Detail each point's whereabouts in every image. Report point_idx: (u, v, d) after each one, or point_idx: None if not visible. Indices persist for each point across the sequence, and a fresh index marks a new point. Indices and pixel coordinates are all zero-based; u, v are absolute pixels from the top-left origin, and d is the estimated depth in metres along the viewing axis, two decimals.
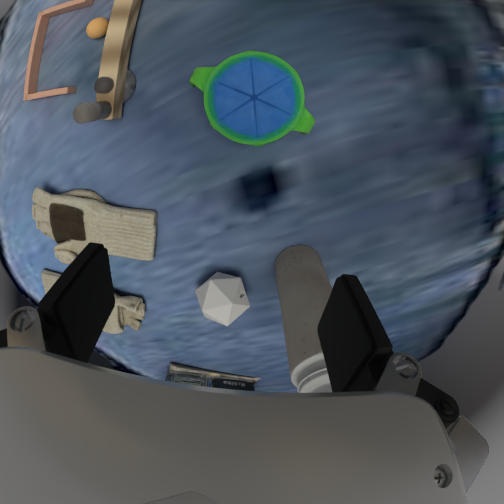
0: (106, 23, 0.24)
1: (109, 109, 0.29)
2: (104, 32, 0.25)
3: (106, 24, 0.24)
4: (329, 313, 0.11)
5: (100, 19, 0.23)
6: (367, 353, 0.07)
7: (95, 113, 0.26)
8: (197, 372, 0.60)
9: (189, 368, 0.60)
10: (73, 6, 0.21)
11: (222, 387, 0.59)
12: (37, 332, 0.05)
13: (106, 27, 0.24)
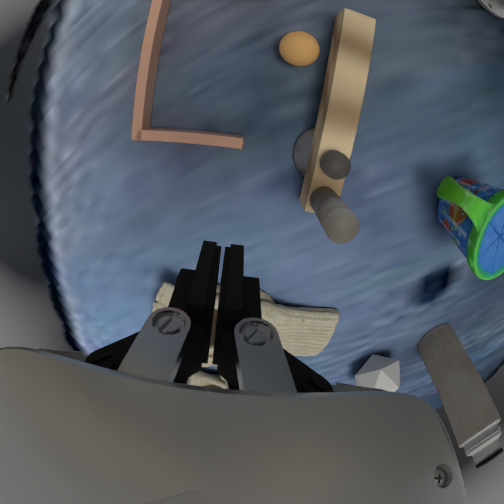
0: (319, 48, 0.19)
1: None
2: (312, 62, 0.20)
3: (319, 50, 0.19)
4: None
5: (313, 38, 0.18)
6: (218, 314, 0.08)
7: None
8: None
9: None
10: None
11: None
12: (176, 344, 0.06)
13: None
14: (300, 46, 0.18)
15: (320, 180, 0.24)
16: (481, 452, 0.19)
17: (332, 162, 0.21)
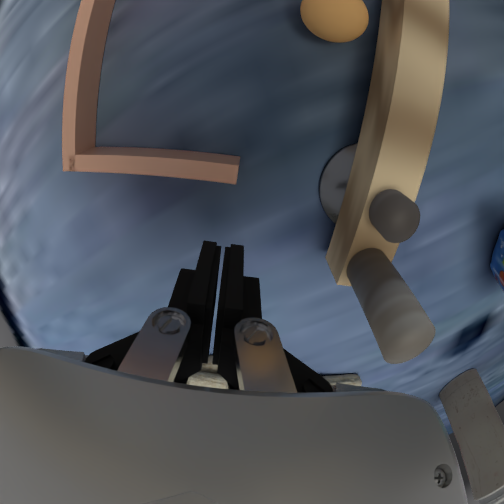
0: (367, 16, 0.09)
1: None
2: (357, 37, 0.10)
3: (368, 18, 0.09)
4: None
5: None
6: (218, 314, 0.08)
7: None
8: None
9: None
10: None
11: None
12: (176, 344, 0.06)
13: (366, 27, 0.10)
14: (341, 6, 0.08)
15: (366, 239, 0.14)
16: None
17: (394, 215, 0.12)
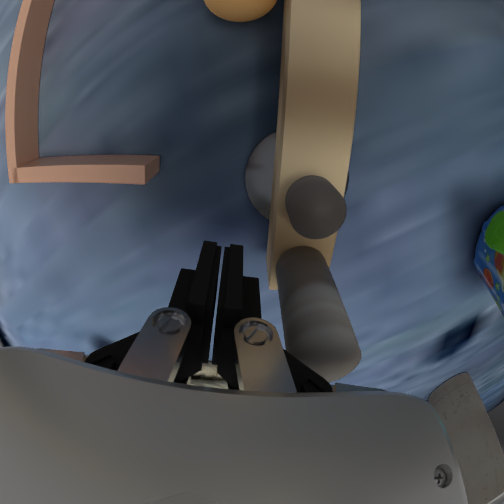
0: None
1: None
2: (267, 11, 0.09)
3: None
4: None
5: None
6: (218, 314, 0.08)
7: None
8: None
9: None
10: None
11: None
12: (176, 344, 0.06)
13: None
14: None
15: (290, 236, 0.13)
16: None
17: (306, 207, 0.11)
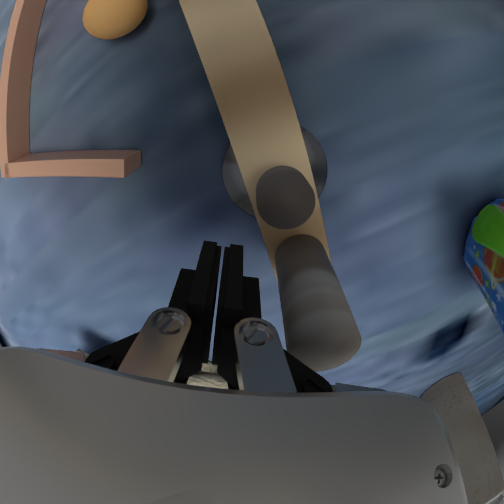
0: None
1: None
2: (93, 35, 0.09)
3: None
4: None
5: None
6: (218, 314, 0.08)
7: None
8: None
9: None
10: None
11: None
12: (176, 344, 0.06)
13: None
14: None
15: (277, 231, 0.13)
16: None
17: (272, 201, 0.11)
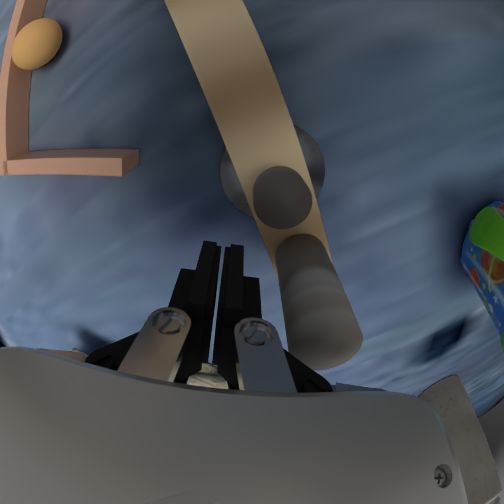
0: (52, 31, 0.08)
1: None
2: (49, 53, 0.09)
3: (51, 33, 0.08)
4: None
5: (37, 23, 0.07)
6: (218, 314, 0.08)
7: None
8: None
9: None
10: None
11: None
12: (176, 344, 0.06)
13: (52, 41, 0.09)
14: (16, 46, 0.07)
15: (276, 231, 0.13)
16: None
17: (269, 201, 0.11)
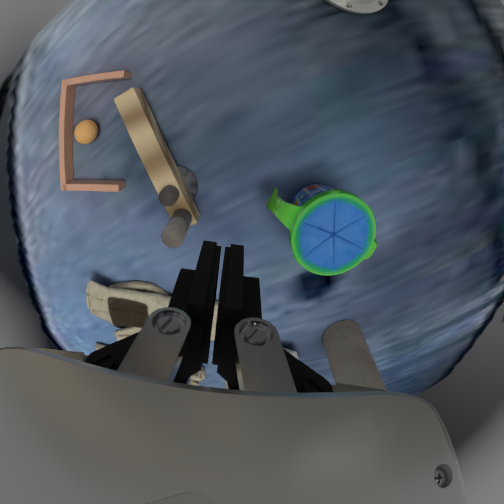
0: None
1: (189, 215, 0.34)
2: None
3: None
4: None
5: (95, 123, 0.30)
6: (218, 314, 0.08)
7: (184, 229, 0.31)
8: None
9: None
10: (107, 79, 0.27)
11: None
12: (176, 344, 0.06)
13: None
14: (90, 133, 0.30)
15: (171, 208, 0.35)
16: None
17: (163, 197, 0.33)
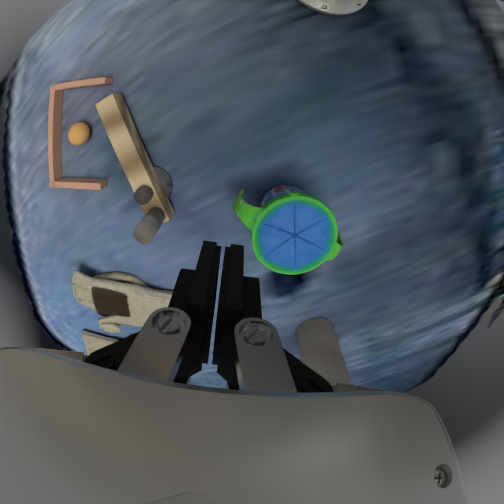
0: None
1: (162, 213, 0.36)
2: None
3: None
4: None
5: (87, 125, 0.33)
6: (218, 314, 0.08)
7: (155, 227, 0.33)
8: None
9: None
10: (91, 85, 0.29)
11: None
12: (176, 344, 0.06)
13: None
14: (88, 134, 0.33)
15: (146, 206, 0.36)
16: None
17: (138, 196, 0.34)
